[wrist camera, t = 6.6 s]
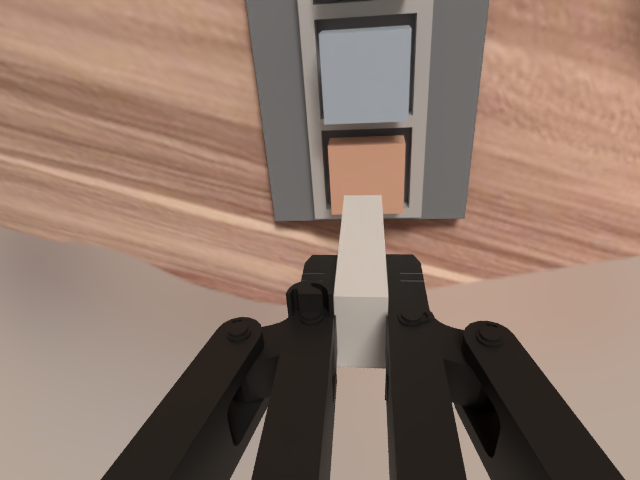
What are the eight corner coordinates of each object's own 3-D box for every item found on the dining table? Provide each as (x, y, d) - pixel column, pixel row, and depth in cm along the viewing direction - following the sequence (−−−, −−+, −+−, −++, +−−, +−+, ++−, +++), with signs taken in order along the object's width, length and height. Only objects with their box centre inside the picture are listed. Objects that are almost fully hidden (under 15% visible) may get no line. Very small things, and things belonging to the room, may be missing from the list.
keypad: (278, 213, 32) (272, 228, 30) (209, -323, 19) (192, -356, 17) (461, 210, 31) (467, 225, 29) (524, -373, 18) (543, -416, 16)
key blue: (326, 116, 25) (324, 124, 23) (321, 30, 23) (318, 34, 21) (406, 113, 24) (408, 121, 23) (408, 25, 22) (411, 28, 21)
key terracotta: (333, 203, 29) (331, 214, 27) (329, 137, 27) (327, 146, 25) (401, 202, 28) (403, 213, 27) (403, 135, 26) (405, 143, 25)
